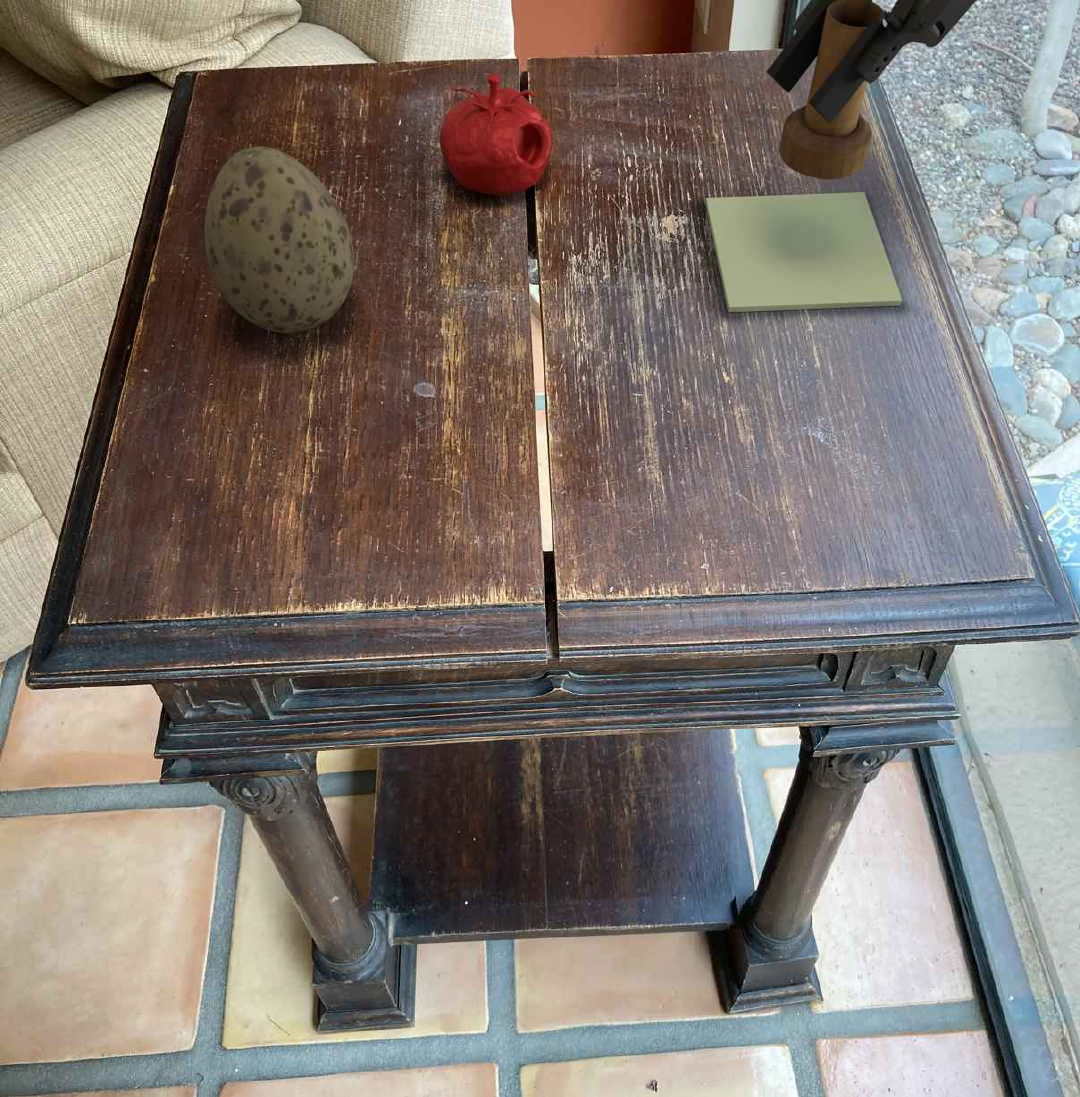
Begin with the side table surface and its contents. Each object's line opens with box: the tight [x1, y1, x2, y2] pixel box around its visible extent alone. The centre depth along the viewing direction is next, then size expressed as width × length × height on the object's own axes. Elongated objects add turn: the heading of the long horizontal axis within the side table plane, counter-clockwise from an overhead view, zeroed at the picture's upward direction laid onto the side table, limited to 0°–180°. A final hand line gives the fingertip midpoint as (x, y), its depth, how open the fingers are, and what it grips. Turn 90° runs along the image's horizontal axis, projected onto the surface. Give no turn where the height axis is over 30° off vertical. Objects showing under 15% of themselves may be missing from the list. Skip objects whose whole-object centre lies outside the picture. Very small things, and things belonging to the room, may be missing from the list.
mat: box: [704, 191, 903, 313], centre depth 88 cm, size 14×14×1 cm
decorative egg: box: [204, 146, 355, 334], centre depth 79 cm, size 11×11×15 cm
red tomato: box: [438, 72, 553, 196], centre depth 91 cm, size 10×10×9 cm
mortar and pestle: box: [778, 0, 885, 180], centre depth 74 cm, size 7×6×18 cm
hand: (798, 97), depth 75 cm, fingers closed on mortar and pestle, 4 cm apart
